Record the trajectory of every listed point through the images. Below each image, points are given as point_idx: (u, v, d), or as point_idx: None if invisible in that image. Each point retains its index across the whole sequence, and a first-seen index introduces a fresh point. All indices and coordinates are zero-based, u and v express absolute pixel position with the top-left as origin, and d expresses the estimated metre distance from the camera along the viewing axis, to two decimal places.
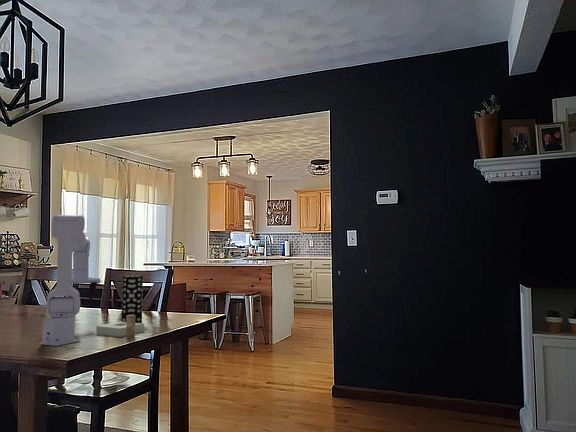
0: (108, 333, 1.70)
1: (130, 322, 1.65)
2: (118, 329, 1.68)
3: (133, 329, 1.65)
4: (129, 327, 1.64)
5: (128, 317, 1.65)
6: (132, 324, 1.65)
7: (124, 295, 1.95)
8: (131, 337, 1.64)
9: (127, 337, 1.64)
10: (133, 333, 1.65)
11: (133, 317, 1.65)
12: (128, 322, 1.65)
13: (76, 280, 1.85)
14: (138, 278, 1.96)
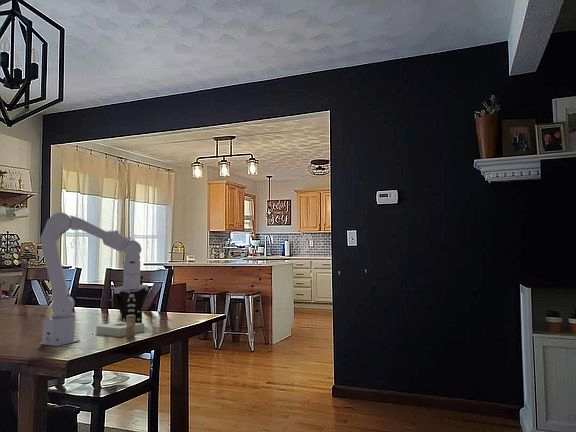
0: (108, 333, 1.70)
1: (130, 322, 1.65)
2: (118, 329, 1.68)
3: (133, 329, 1.65)
4: (129, 327, 1.64)
5: (128, 317, 1.65)
6: (132, 324, 1.65)
7: None
8: (131, 337, 1.64)
9: (127, 337, 1.64)
10: (133, 333, 1.65)
11: (133, 317, 1.65)
12: (128, 322, 1.65)
13: None
14: None
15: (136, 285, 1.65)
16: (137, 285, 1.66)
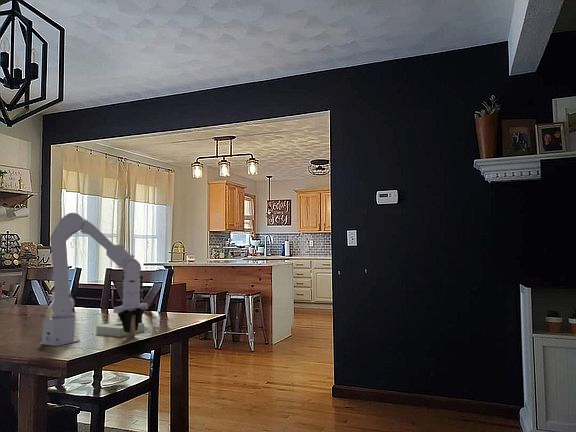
0: (108, 333, 1.70)
1: None
2: (118, 329, 1.68)
3: (133, 329, 1.65)
4: None
5: None
6: (132, 324, 1.65)
7: None
8: (131, 337, 1.64)
9: (127, 337, 1.64)
10: (133, 333, 1.65)
11: (133, 317, 1.65)
12: None
13: None
14: None
15: (136, 304, 1.65)
16: (137, 304, 1.65)
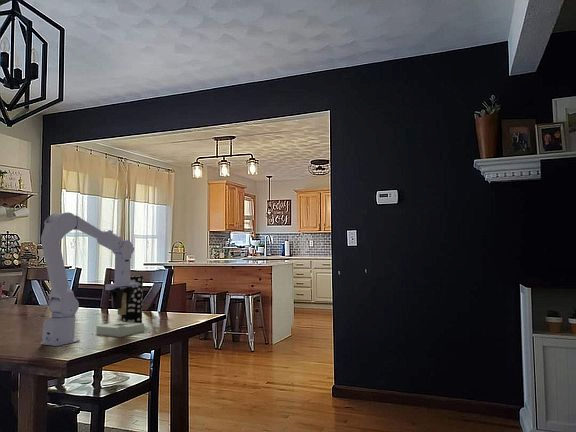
0: (108, 333, 1.70)
1: None
2: (118, 329, 1.68)
3: (124, 306, 1.75)
4: None
5: None
6: (123, 301, 1.75)
7: None
8: (122, 313, 1.74)
9: (118, 313, 1.74)
10: (124, 310, 1.75)
11: (124, 294, 1.75)
12: None
13: None
14: (138, 278, 1.96)
15: (126, 282, 1.75)
16: (127, 282, 1.75)
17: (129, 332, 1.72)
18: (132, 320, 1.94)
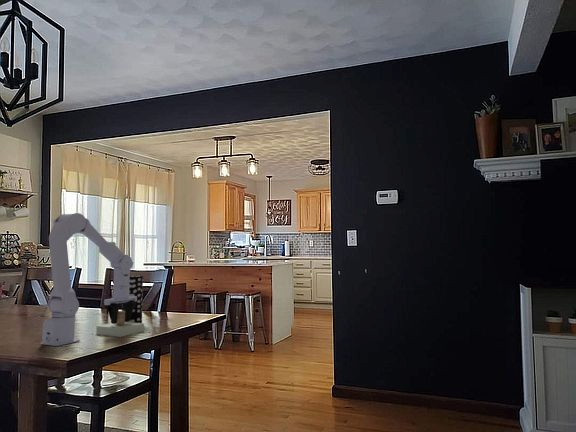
0: (108, 333, 1.70)
1: (120, 317, 1.75)
2: (118, 329, 1.68)
3: (123, 324, 1.75)
4: (119, 322, 1.75)
5: (118, 313, 1.75)
6: (122, 320, 1.75)
7: None
8: None
9: None
10: None
11: (123, 313, 1.75)
12: (118, 318, 1.75)
13: None
14: (138, 278, 1.96)
15: (125, 297, 1.75)
16: (126, 297, 1.75)
17: (129, 332, 1.72)
18: (132, 320, 1.94)
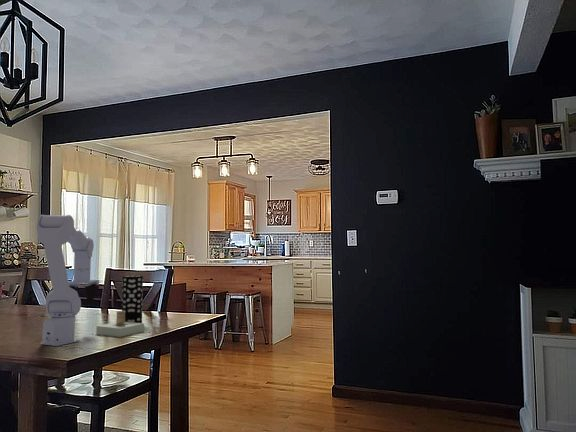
0: (108, 333, 1.70)
1: (120, 317, 1.75)
2: (118, 329, 1.68)
3: (123, 324, 1.75)
4: (119, 322, 1.75)
5: (118, 313, 1.75)
6: (122, 320, 1.75)
7: (124, 295, 1.95)
8: None
9: None
10: None
11: (123, 313, 1.75)
12: (118, 318, 1.75)
13: None
14: (138, 278, 1.96)
15: (86, 280, 1.74)
16: (87, 280, 1.74)
17: (129, 332, 1.72)
18: (132, 320, 1.94)
